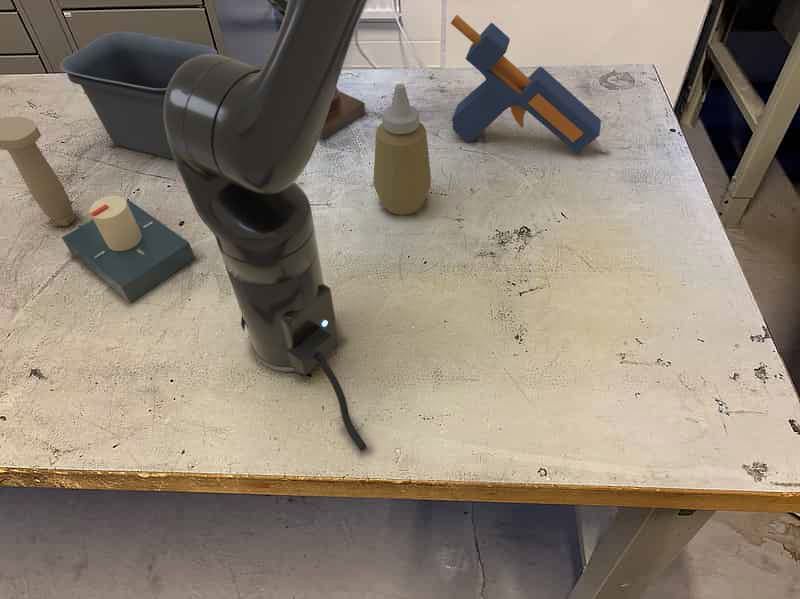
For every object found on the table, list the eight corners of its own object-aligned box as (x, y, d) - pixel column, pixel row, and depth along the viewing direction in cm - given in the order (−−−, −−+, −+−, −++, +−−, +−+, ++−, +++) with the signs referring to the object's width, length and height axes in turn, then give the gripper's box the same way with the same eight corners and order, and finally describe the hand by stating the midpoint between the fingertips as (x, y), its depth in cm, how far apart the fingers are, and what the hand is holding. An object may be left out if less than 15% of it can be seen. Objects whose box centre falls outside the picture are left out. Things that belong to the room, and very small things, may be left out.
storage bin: (89, 151, 96) (47, 66, 85) (150, 103, 105) (119, 21, 95) (199, 180, 90) (170, 93, 80) (253, 126, 100) (233, 42, 89)
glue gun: (546, 204, 100) (619, 150, 90) (398, 96, 90) (460, 20, 79) (547, 180, 104) (617, 125, 93) (405, 74, 94) (465, -1, 83)
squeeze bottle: (365, 195, 87) (355, 80, 73) (414, 179, 89) (413, 64, 76) (390, 228, 82) (384, 111, 69) (441, 209, 84) (445, 92, 71)
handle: (68, 237, 82) (12, 144, 71) (35, 224, 84) (-24, 132, 73) (94, 216, 85) (44, 124, 74) (62, 204, 87) (9, 112, 76)
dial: (129, 223, 79) (112, 189, 75) (149, 237, 77) (133, 202, 73) (100, 241, 77) (81, 207, 73) (119, 256, 75) (101, 221, 71)
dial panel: (195, 259, 79) (188, 241, 77) (130, 303, 74) (120, 286, 72) (135, 215, 85) (127, 198, 83) (71, 253, 80) (60, 236, 78)
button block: (365, 114, 101) (363, 92, 98) (323, 140, 96) (320, 118, 93) (316, 91, 107) (313, 70, 104) (274, 115, 102) (269, 94, 99)
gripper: (306, -104, 84) (320, 20, 97) (233, -80, 77) (259, 51, 90) (345, -94, 81) (354, 33, 94) (272, -68, 74) (293, 65, 87)
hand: (307, 42), depth 92 cm, fingers closed
